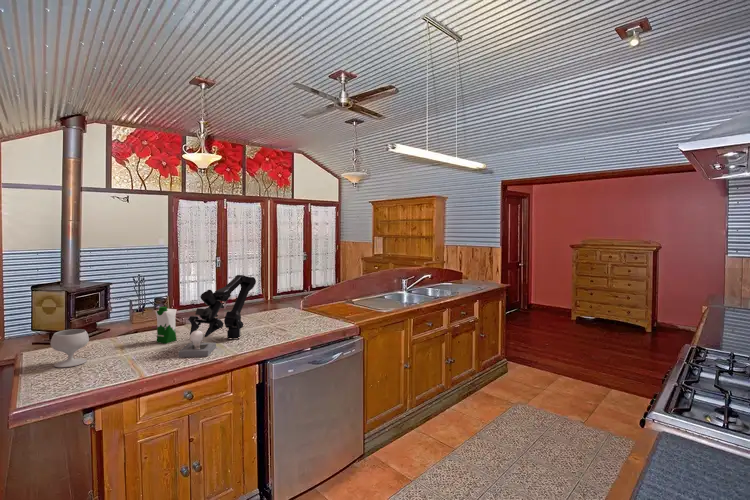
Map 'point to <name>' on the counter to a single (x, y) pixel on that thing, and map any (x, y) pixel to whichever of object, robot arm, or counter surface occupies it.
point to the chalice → (69, 345)
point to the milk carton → (166, 325)
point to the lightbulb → (196, 338)
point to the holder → (197, 350)
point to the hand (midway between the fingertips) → (197, 336)
